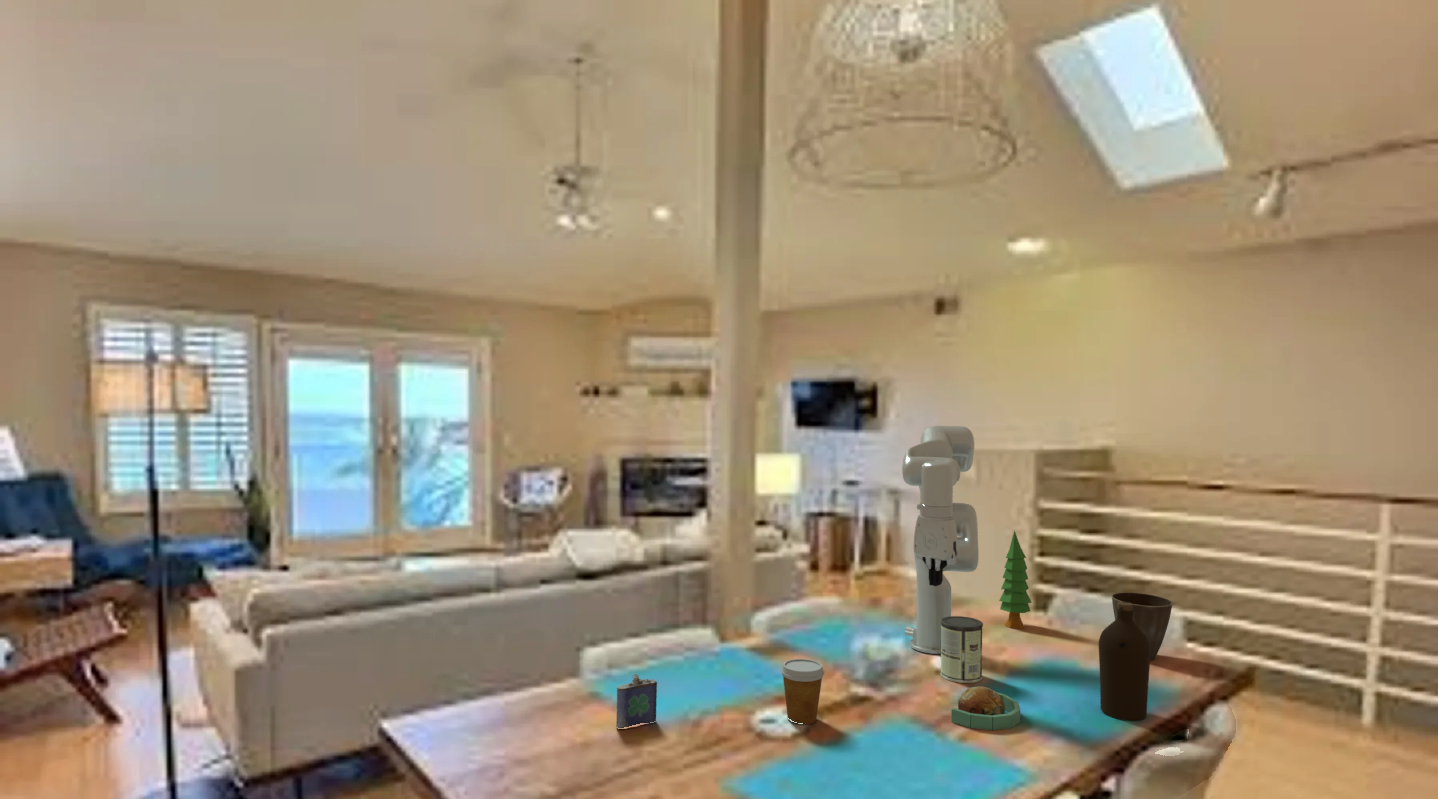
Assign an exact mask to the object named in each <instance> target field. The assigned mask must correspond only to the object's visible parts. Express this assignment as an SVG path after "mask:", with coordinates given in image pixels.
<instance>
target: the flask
mask: <svg viewBox="0 0 1438 799" xmlns="http://www.w3.org/2000/svg"><path fill="white" fill-rule="evenodd" d="M639 676H640V675H639V674H638V673H634V674H633V675H631V677H632V679H633V680H632V682H630V683H625V684H621V685H618V686H617V687H616V725H615V726H616V728H617V727H618V728H624V727H629V726H632V725H636V724H640V723H650V722H654V721H656V722H657V697H658V696H657V693H658V689H657V688H658V682H657V680H654V679H650V678H645V679H641V678H640V677H639Z"/></svg>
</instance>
